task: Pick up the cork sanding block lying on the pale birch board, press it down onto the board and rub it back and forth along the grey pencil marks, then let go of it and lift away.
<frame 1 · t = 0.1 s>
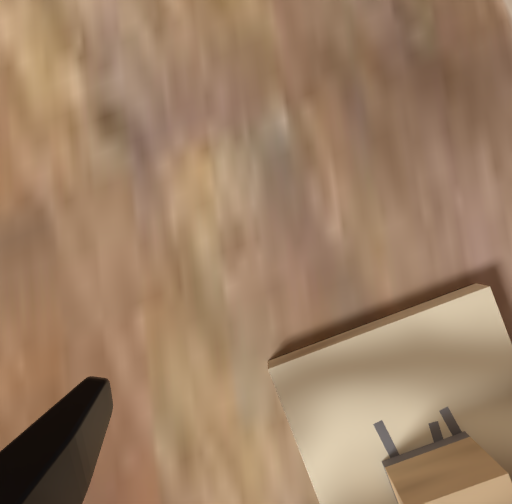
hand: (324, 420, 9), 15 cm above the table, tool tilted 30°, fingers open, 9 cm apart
board: (435, 492, 24), on the table
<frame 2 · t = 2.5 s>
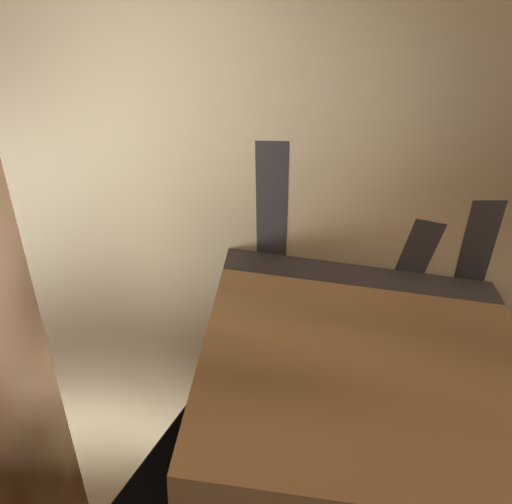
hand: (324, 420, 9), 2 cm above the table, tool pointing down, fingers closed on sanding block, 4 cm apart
board: (321, 345, 11), on the table
sanding block: (323, 396, 9), point 2 cm above the table, touching board, gripper
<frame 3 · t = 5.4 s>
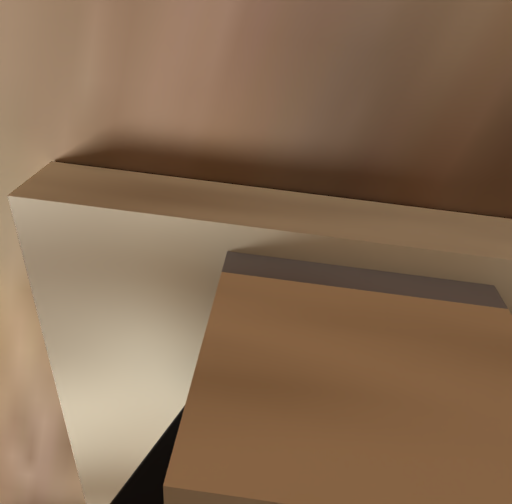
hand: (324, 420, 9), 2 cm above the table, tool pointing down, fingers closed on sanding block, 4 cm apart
board: (289, 480, 14), on the table
sanding block: (323, 400, 9), point 2 cm above the table, touching board, gripper
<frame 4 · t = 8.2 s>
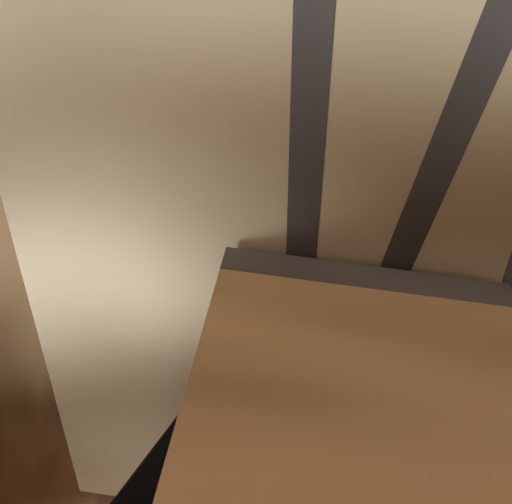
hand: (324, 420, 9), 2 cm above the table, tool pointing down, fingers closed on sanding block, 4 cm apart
board: (369, 164, 8), on the table
sanding block: (326, 402, 9), point 2 cm above the table, touching gripper
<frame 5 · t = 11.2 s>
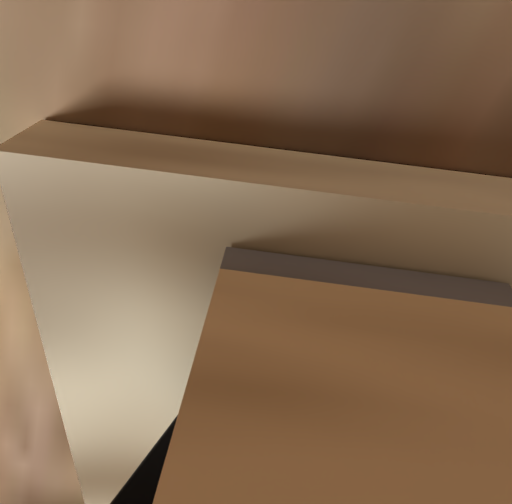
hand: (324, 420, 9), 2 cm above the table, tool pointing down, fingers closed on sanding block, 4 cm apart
board: (295, 470, 13), on the table
sanding block: (326, 402, 9), point 2 cm above the table, touching gripper
when the fingers open (2 cm above the table, at t = 14.1 s): sanding block stays where it is, resting on board.
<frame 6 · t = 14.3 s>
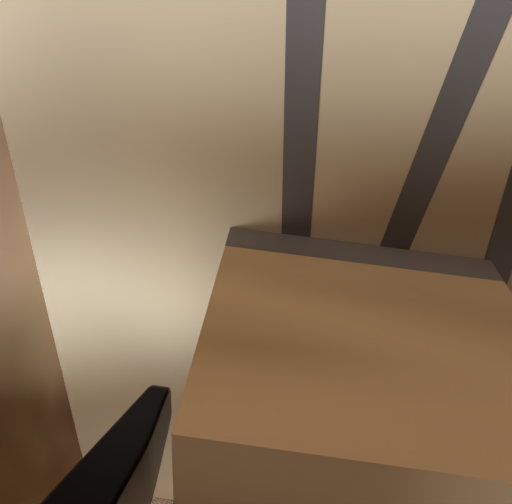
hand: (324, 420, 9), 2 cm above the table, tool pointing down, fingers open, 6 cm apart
board: (355, 192, 9), on the table
sanding block: (323, 378, 9), point 2 cm above the table, touching board
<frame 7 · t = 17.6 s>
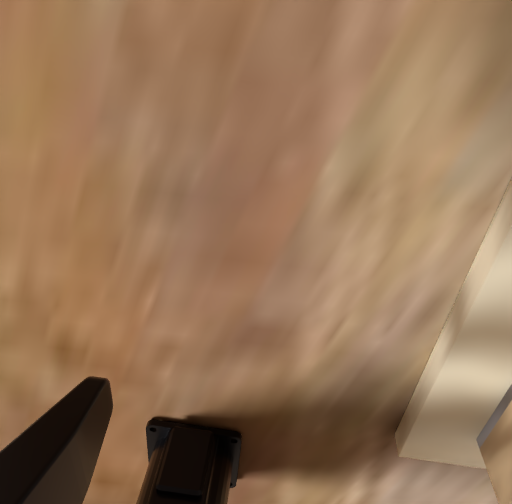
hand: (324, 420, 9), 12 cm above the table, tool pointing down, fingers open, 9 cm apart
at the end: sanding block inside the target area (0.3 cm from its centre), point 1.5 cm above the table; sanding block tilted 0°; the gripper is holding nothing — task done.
